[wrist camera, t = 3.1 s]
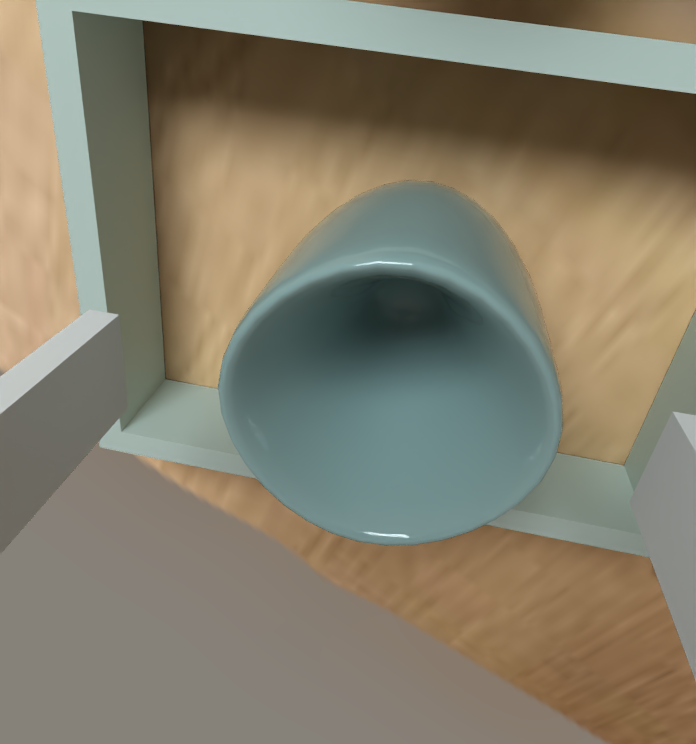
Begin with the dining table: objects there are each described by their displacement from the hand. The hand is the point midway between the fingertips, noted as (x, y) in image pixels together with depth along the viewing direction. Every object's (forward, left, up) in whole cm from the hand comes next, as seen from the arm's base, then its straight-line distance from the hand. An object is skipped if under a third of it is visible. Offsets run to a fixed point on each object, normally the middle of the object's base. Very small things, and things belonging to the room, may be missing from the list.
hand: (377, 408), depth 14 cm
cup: (0, 0, -9) cm, 9 cm away
